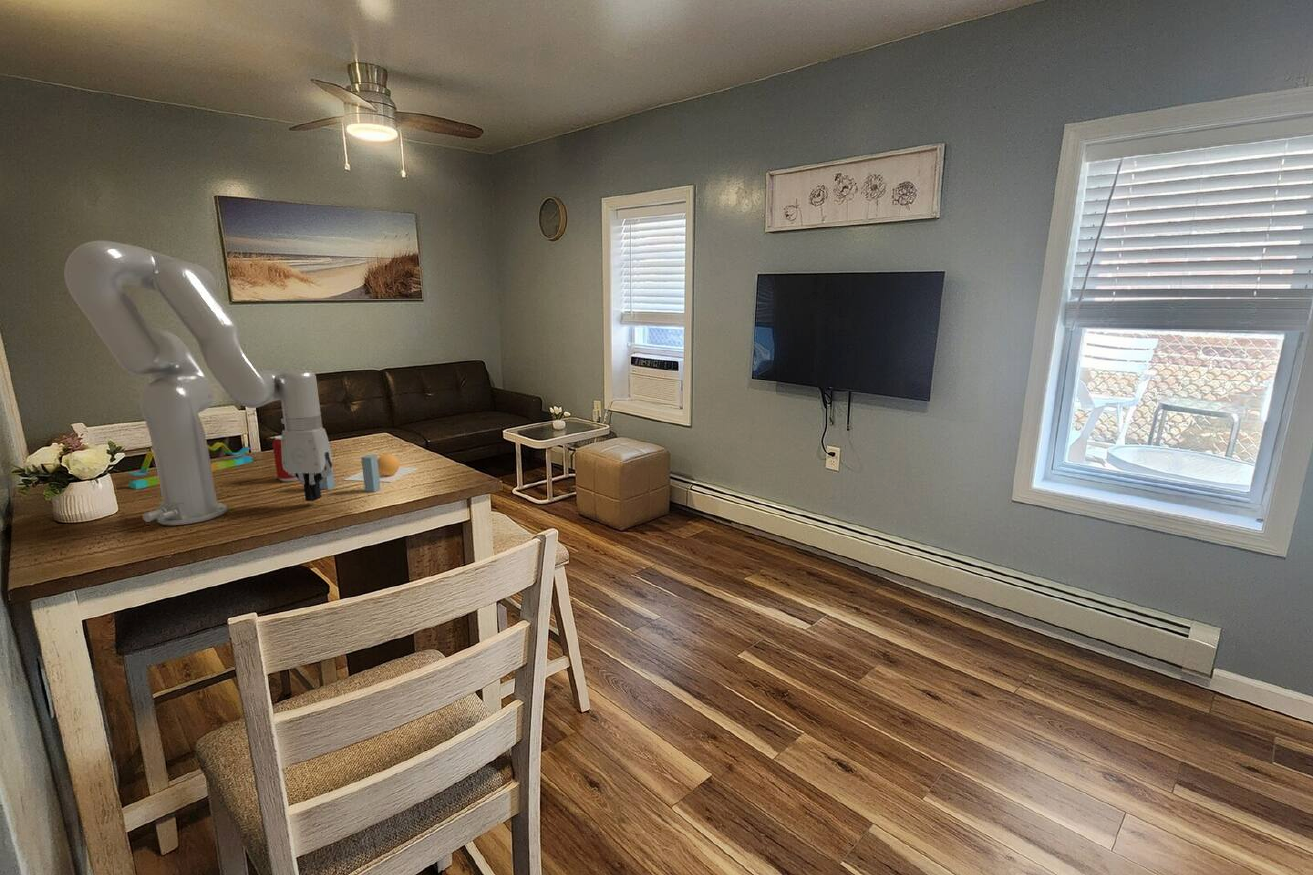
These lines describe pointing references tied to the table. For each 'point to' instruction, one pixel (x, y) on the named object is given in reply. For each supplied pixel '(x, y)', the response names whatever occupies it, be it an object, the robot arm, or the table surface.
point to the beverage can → (278, 461)
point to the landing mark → (400, 473)
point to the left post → (327, 482)
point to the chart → (214, 466)
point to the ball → (388, 465)
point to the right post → (370, 473)
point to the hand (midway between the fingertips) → (313, 499)
